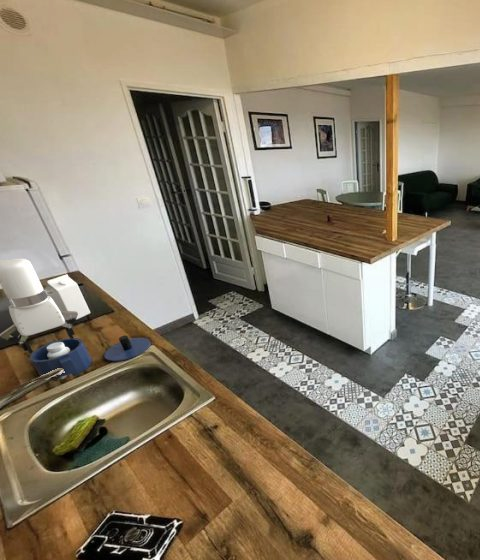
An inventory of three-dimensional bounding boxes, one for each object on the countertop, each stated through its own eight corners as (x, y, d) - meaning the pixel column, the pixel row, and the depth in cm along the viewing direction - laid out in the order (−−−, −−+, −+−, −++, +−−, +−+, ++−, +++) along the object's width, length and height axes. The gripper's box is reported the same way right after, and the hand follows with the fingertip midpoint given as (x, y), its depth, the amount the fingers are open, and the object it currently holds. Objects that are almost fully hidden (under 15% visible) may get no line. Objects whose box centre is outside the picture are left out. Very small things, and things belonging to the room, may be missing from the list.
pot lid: (113, 367, 108) (106, 353, 105) (99, 353, 115) (93, 339, 112) (157, 348, 118) (152, 334, 116) (142, 335, 125) (137, 323, 122)
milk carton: (60, 319, 135) (40, 280, 127) (79, 311, 141) (60, 273, 133) (73, 321, 133) (53, 282, 125) (90, 313, 140) (73, 275, 131)
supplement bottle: (67, 373, 104) (54, 350, 100) (51, 373, 104) (38, 350, 100) (81, 362, 109) (70, 340, 105) (66, 362, 109) (54, 340, 105)
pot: (49, 391, 98) (36, 370, 94) (35, 368, 107) (23, 348, 103) (99, 369, 107) (90, 349, 104) (83, 350, 116) (73, 331, 113)
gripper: (63, 285, 104) (82, 328, 111) (-18, 305, 90) (10, 352, 97) (70, 292, 100) (89, 336, 107) (-13, 313, 87) (15, 362, 94)
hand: (51, 344), depth 102 cm, fingers open, 9 cm apart
